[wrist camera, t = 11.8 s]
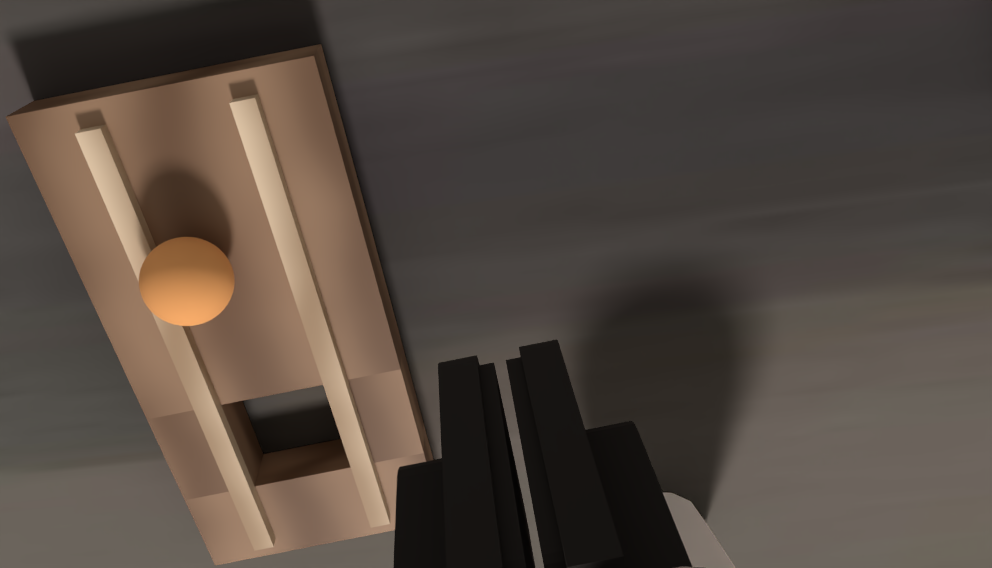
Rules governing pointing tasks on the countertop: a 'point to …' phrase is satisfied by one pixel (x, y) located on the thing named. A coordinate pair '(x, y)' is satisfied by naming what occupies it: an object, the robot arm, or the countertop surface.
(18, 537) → the countertop surface
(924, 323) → the countertop surface
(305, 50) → the runway
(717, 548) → the foam cup
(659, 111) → the countertop surface
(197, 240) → the ball
